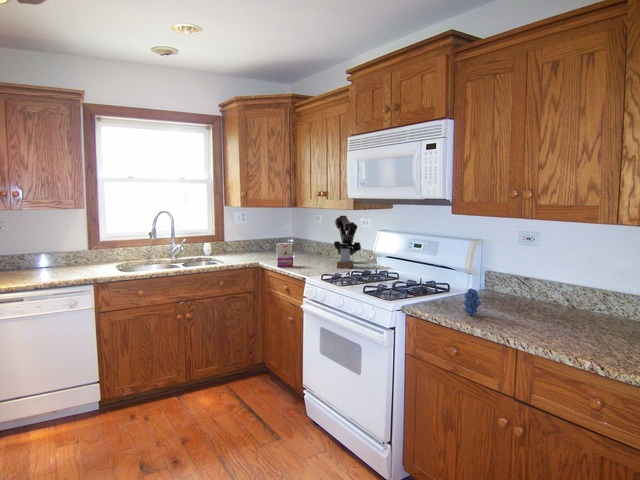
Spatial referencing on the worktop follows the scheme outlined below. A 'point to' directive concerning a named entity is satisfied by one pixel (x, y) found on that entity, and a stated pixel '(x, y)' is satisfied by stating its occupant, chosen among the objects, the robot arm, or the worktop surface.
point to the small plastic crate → (345, 255)
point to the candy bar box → (285, 255)
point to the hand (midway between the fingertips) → (344, 254)
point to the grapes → (471, 301)
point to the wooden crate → (345, 265)
